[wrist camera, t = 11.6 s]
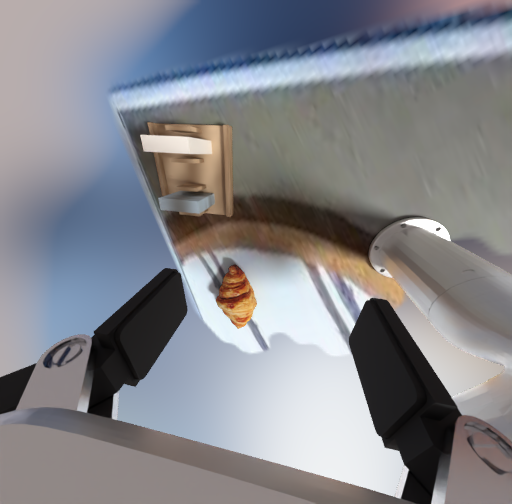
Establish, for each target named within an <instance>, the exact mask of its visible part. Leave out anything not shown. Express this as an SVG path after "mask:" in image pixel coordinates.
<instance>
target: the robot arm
mask: <svg viewBox="0 0 512 504" xmlns="http://www.w3.org/2000/svg"><path fill="white" fill-rule="evenodd" d="M401 224H402V225H401ZM369 260H370V263H371V264H372V266H373V267H374V269H375V270H376V271H377V272H378V273H380V274H382V275H384V276H386V277H390V278H394V280H395V281H396V282H397V283H398V284H399V286H400V287H401V288H402V289H403V290H404V292H405V293H406V294H407V295H408V297H409V298H410V299H411V300H412V301H413V303H414V304H415V305H416V306H417V307H418V309H419V310H420V311H421V312H422V313H423V315H424V316H425V317H426V318H427V320H428V321H429V322H430V323H431V324H432V326H433V327H434V328H435V329H436V330H437V332H439V334H440V335H441V336H442V337H443V338H444V339H445V340H447V341H448V342H449V343H450V344H452V345H453V346H455V347H457V348H458V349H460V350H462V351H464V352H466V353H468V354H470V355H473V356H476V357H478V358H481V359H484V360H487V361H490V362H493V363H496V364H500V365H503V366H504V367H505V369H504V371H503V372H502V373H501V374H499V375H497V376H495V377H493V378H491V379H489V380H488V381H487V382H484V383H482V384H480V385H478V386H475V387H473V388H471V389H469V390H466V391H464V392H461V393H459V394H457V395H454V396H452V397H451V396H450V395H449V393H448V391H447V390H446V388H445V387H444V385H443V384H442V382H441V381H440V379H439V378H438V376H437V375H436V373H435V372H434V370H433V369H432V367H431V366H430V364H429V363H428V361H427V360H426V358H425V356H424V355H423V353H422V352H421V350H420V349H419V347H418V346H417V345H416V343H415V341H414V340H413V339H412V337H411V335H410V334H409V332H408V331H407V329H406V328H405V326H404V325H403V323H402V322H401V320H400V319H399V317H398V316H397V314H396V312H395V311H394V309H393V308H392V306H391V305H390V303H389V302H388V301H387V300H384V299H377V298H371V299H370V300H367V301H366V302H365V304H364V306H363V309H362V311H361V313H360V315H359V317H358V320H357V322H356V324H355V326H354V328H353V330H352V333H351V335H350V337H349V345H350V348H351V352H352V355H353V358H354V361H355V365H356V368H357V371H358V375H359V378H360V381H361V384H362V388H363V391H364V394H365V398H366V401H367V404H368V407H369V411H370V414H371V417H372V421H373V424H374V427H375V430H376V432H377V434H378V435H379V436H381V437H382V440H383V443H384V446H385V448H389V449H394V450H398V451H400V454H401V457H402V460H403V462H404V467H403V470H402V473H401V477H400V480H399V483H398V487H397V491H396V494H395V497H393V496H389V495H386V494H383V493H379V492H376V491H373V490H370V489H366V488H363V487H359V486H355V485H352V484H348V483H345V482H341V481H338V480H334V479H331V478H327V477H323V476H320V475H316V474H313V473H309V472H305V471H302V470H298V469H295V468H291V467H288V466H284V465H280V464H277V463H273V462H269V461H266V460H262V459H259V458H255V457H251V456H248V455H244V454H241V453H237V452H233V451H230V450H226V449H222V448H219V447H215V446H211V445H208V444H204V443H200V442H197V441H193V440H189V439H185V438H182V437H178V436H175V435H171V434H167V433H163V432H160V431H155V430H152V429H148V428H145V427H141V426H137V425H134V424H130V423H126V422H122V421H118V420H117V415H118V399H119V390H120V388H121V387H122V386H123V384H127V385H131V386H136V385H137V384H138V382H139V381H140V380H141V379H143V378H144V377H145V376H146V375H147V373H148V372H149V370H150V369H151V367H152V366H153V364H154V363H155V361H156V360H157V358H158V357H159V355H160V354H161V352H162V351H163V349H164V348H165V346H166V345H167V343H168V342H169V340H170V339H171V337H172V335H173V334H174V332H175V331H176V329H177V328H178V326H179V325H180V323H181V322H182V320H183V319H184V317H185V316H186V314H187V305H186V299H185V294H184V289H183V284H182V278H181V274H180V273H178V271H177V270H176V269H169V268H165V269H163V270H162V271H161V272H160V273H159V274H158V275H157V276H155V277H154V278H153V279H152V280H151V281H150V282H149V283H148V284H146V285H145V286H144V287H143V288H142V289H141V290H140V291H139V292H138V293H136V294H135V295H134V296H133V297H132V298H131V299H130V300H129V301H128V302H126V303H125V304H124V305H123V306H122V307H121V308H120V309H119V310H117V311H116V312H115V313H114V314H113V315H112V316H111V317H110V318H108V319H107V320H106V321H105V322H104V323H103V324H102V325H101V326H99V327H98V328H97V329H96V330H95V331H94V334H95V335H94V336H93V337H92V338H90V336H88V335H75V336H71V337H69V338H66V339H63V340H62V341H60V342H58V343H56V344H54V345H53V346H52V347H51V348H49V349H48V350H47V351H46V352H45V353H44V354H43V355H42V356H41V357H40V359H39V361H38V362H37V363H36V364H33V365H31V366H28V367H26V368H23V369H20V370H18V371H15V372H13V373H10V374H8V375H5V376H3V377H0V504H512V275H511V274H510V273H508V272H506V271H504V270H502V269H501V268H499V267H497V266H495V265H493V264H491V263H490V262H488V261H486V260H484V259H482V258H480V257H478V256H477V255H475V254H473V253H472V252H470V251H467V250H466V249H464V248H462V247H460V246H458V245H456V244H455V243H453V242H451V241H450V236H449V234H448V231H447V230H446V229H445V227H444V226H442V225H441V224H440V223H438V222H436V221H434V220H431V219H427V218H421V217H414V218H407V219H402V220H400V221H397V222H394V223H392V224H391V225H389V226H387V227H386V228H384V229H383V230H382V231H380V232H379V234H378V235H377V236H376V237H375V238H374V240H373V241H372V243H371V245H370V248H369Z"/></svg>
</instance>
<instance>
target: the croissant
mask: <svg viewBox="0 0 512 504" xmlns="http://www.w3.org/2000/svg"><path fill="white" fill-rule="evenodd" d="M216 302H217V305H218V307H220V308H221V309H222V310H223V312H224V314H225V315H226V316H227V317H228V318H230V320H231V322H232V323H233V324H234V325H235V326H236V327H237V328H238V329H239V328H241V327H244V326H245V325H246V323H247V322H248V321H249V320H250V319H251V317H252V314H253V310H254V309H255V307H256V305H257V302H256V299H255V297H254V291H253V289H252V287H251V285H250V283H249V281H248V280H247V278H246V276H245V273H244V272H243V271H242V270H241V269H240V268H239V267H238V266H237V265H233V266H230V268H229V272H228V273H227V274H226V275H225V276H224V279H223V282H222V285H221V287H220V289H219V296H218V297H217V298H216Z"/></svg>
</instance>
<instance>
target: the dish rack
mask: <svg viewBox="0 0 512 504" xmlns="http://www.w3.org/2000/svg"><path fill="white" fill-rule="evenodd" d="M147 123H148V127H149V132H150V135H158V136H181V137H192V138H198V139H203V140H209V141H211V144H212V154H181V153H163V152H154V157H155V162H156V167H157V172H158V177H159V182H160V187H161V192H162V197H159V198H158V200H159V204H160V209H161V210H165V211H177V212H179V213H180V214H182V215H192V216H201V215H202V214H204V213H210V214H220V215H226V216H227V217H231V216H232V215H233V158H232V127H231V126H229V125H223V126H218V125H186V124H156V123H150V122H147Z"/></svg>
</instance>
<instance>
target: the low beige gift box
mask: <svg viewBox="0 0 512 504" xmlns="http://www.w3.org/2000/svg"><path fill="white" fill-rule="evenodd" d="M140 136H141V141H142V145H143V150H144V151H145V152H163V153H181V154H212V144H211V141H209V140H203V139H198V138H192V137H181V136H158V135H140Z"/></svg>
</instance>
